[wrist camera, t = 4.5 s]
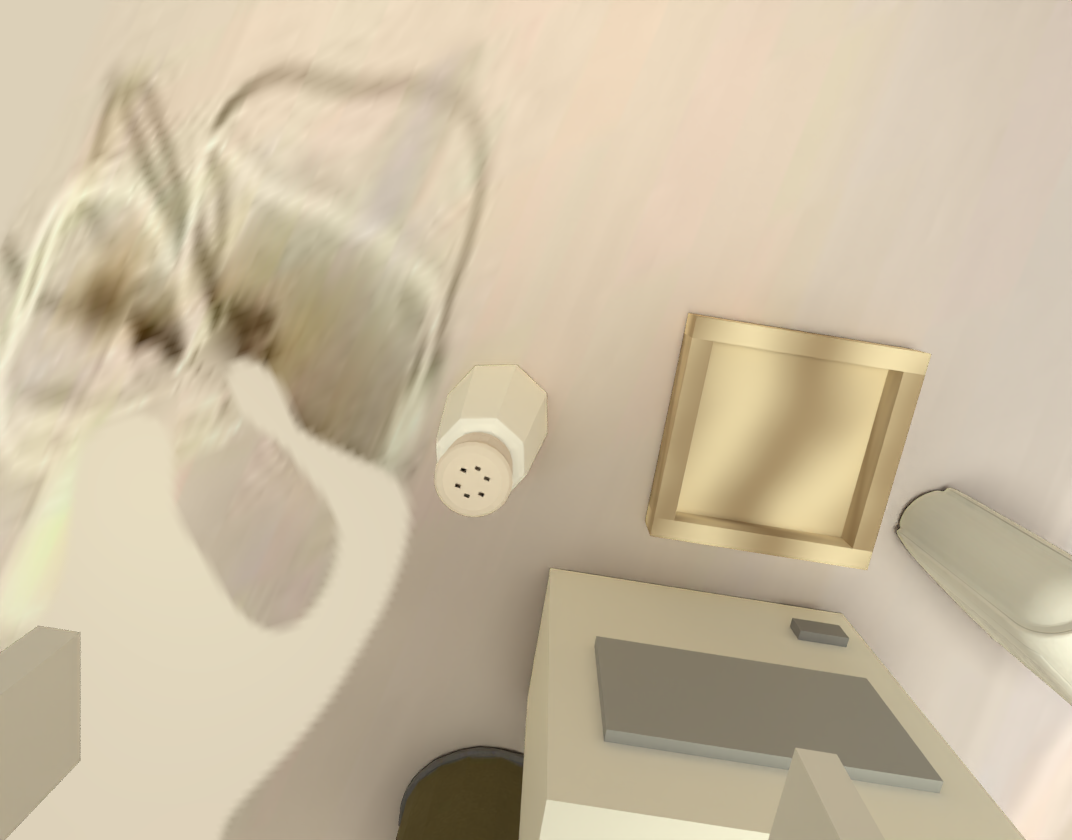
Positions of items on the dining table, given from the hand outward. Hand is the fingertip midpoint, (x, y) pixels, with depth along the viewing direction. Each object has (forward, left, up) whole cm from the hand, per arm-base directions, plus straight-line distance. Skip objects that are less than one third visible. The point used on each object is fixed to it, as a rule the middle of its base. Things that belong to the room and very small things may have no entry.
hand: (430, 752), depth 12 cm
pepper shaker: (-1, +1, -23) cm, 23 cm away
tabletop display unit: (+11, -11, -23) cm, 28 cm away
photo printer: (+25, -3, -23) cm, 34 cm away
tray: (+13, +2, -23) cm, 26 cm away
